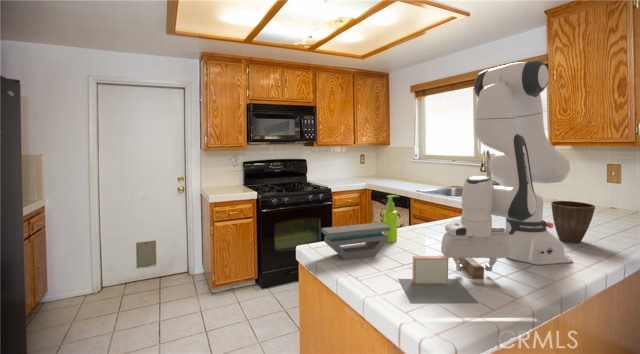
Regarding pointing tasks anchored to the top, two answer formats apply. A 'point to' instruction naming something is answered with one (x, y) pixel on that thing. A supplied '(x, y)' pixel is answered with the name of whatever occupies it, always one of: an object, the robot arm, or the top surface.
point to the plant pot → (572, 219)
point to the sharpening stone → (356, 239)
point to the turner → (478, 275)
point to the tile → (430, 270)
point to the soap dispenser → (390, 220)
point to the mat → (436, 292)
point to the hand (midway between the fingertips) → (473, 270)
